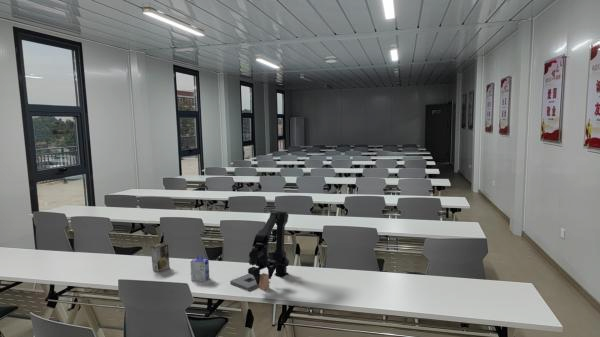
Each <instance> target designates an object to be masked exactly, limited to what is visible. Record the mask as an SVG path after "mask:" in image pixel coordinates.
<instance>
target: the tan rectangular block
mask: <svg viewBox="0 0 600 337" xmlns="http://www.w3.org/2000/svg"><path fill="white" fill-rule="evenodd" d="M259 274H260V281H259V286H258V289H259V290H262V291H266V290H268V289H270V279H269V275H268V273H265V272H263V273H259Z"/></svg>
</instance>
